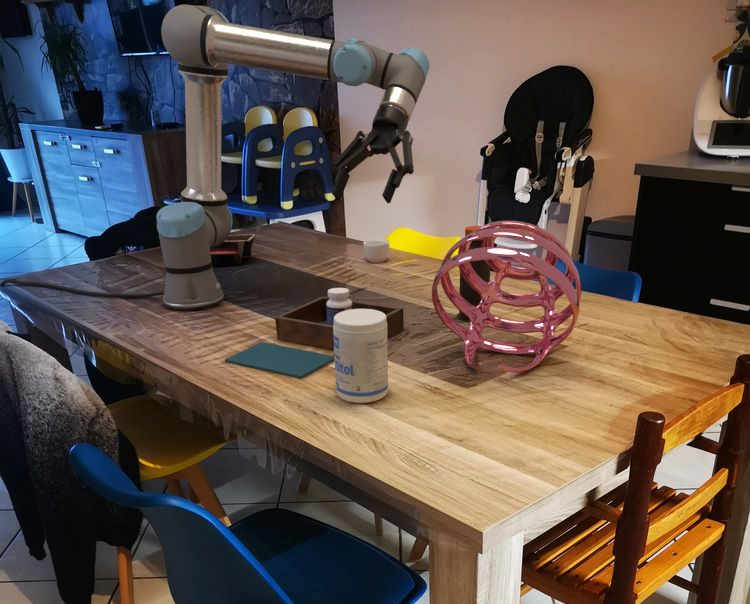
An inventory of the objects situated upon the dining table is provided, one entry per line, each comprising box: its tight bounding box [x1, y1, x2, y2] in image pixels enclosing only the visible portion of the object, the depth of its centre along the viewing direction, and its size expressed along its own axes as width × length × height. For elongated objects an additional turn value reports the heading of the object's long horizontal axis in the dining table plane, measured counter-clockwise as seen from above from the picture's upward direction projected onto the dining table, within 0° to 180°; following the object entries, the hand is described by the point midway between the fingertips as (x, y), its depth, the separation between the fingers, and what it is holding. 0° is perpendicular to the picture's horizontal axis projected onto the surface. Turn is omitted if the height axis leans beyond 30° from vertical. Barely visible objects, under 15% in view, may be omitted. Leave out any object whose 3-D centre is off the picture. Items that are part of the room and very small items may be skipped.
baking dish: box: [210, 233, 256, 267], centre depth 228 cm, size 14×18×10 cm
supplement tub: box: [333, 309, 389, 404], centre depth 134 cm, size 10×10×15 cm
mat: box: [224, 341, 335, 379], centre depth 154 cm, size 20×12×1 cm, turn 57°
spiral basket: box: [431, 220, 583, 374], centre depth 142 cm, size 28×28×27 cm
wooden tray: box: [274, 295, 405, 351], centre depth 166 cm, size 22×18×5 cm
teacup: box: [362, 239, 390, 264], centre depth 223 cm, size 10×8×5 cm
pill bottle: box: [326, 287, 353, 326], centre depth 164 cm, size 6×6×10 cm
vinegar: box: [458, 225, 491, 322], centre depth 169 cm, size 7×7×20 cm
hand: (360, 198), depth 166 cm, fingers open, 13 cm apart
